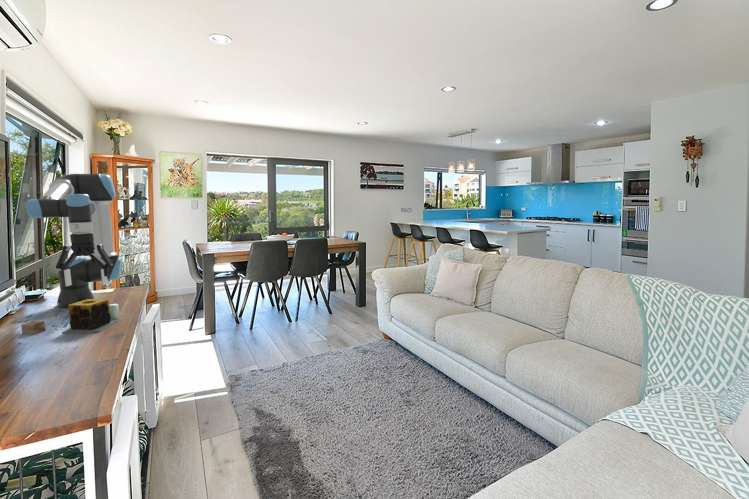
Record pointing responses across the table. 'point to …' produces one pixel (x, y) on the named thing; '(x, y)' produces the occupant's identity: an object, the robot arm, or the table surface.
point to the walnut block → (33, 327)
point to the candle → (89, 314)
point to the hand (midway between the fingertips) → (87, 284)
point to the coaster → (90, 329)
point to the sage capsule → (114, 311)
